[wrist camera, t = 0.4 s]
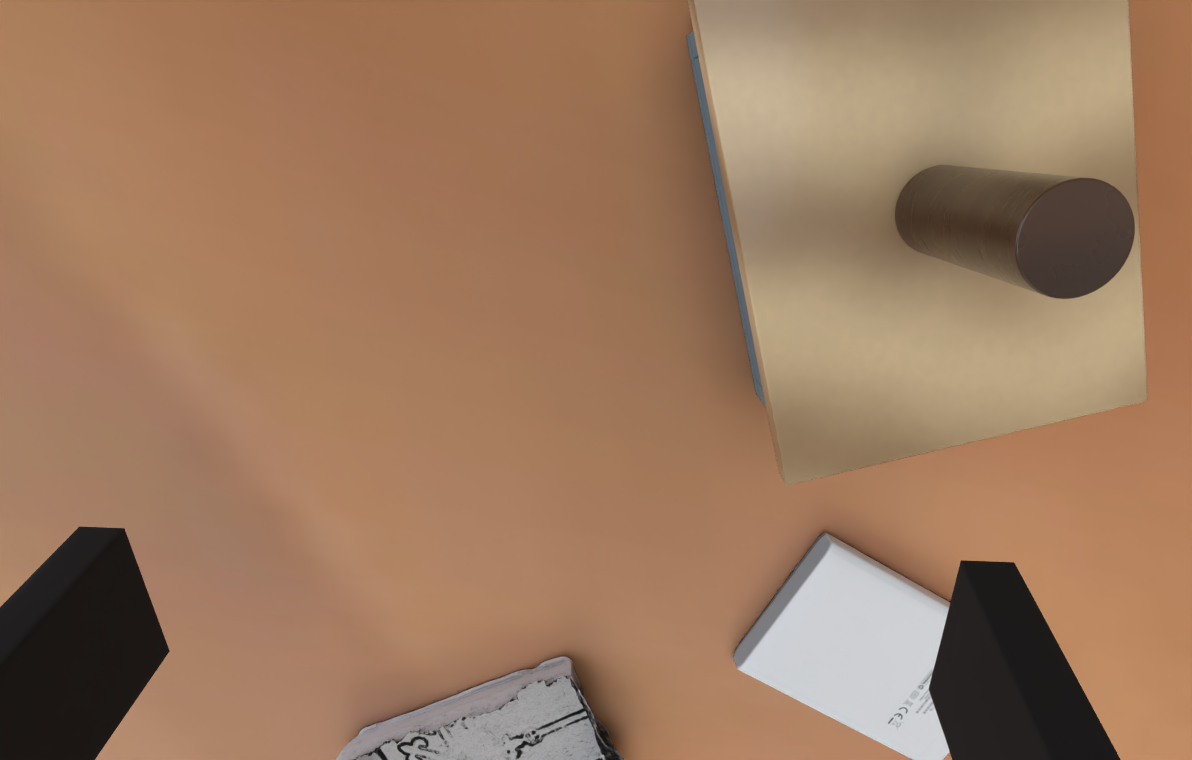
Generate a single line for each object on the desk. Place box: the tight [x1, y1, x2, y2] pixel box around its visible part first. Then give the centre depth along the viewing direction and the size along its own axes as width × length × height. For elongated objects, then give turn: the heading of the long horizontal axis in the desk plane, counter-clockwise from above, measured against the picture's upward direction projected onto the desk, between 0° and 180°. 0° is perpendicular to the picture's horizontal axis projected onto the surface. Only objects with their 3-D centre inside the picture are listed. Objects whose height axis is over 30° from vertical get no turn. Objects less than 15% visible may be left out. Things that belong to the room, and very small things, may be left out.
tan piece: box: [688, 0, 1148, 485], centre depth 25 cm, size 18×14×9 cm
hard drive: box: [733, 533, 950, 760], centre depth 42 cm, size 2×8×12 cm
